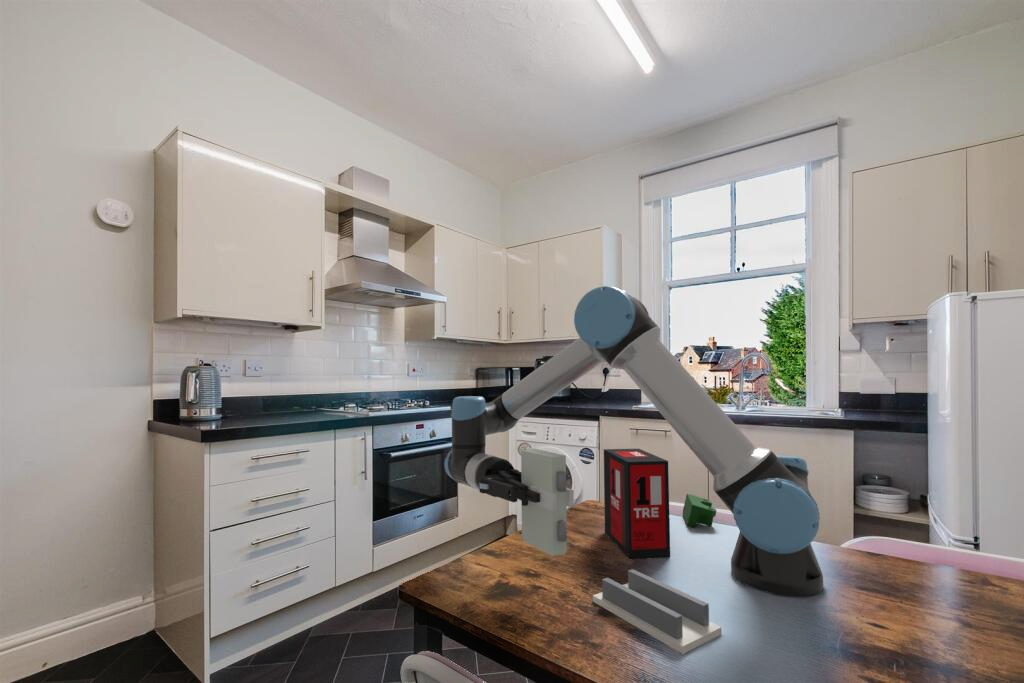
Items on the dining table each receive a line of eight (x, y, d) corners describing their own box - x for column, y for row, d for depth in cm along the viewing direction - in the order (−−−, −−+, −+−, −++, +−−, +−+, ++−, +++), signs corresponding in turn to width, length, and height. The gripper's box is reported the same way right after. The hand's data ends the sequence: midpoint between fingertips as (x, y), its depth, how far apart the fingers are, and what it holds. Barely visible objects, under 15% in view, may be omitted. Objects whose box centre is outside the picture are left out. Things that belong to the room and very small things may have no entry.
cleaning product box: (670, 557, 99) (668, 461, 101) (629, 559, 98) (627, 462, 100) (640, 531, 116) (638, 448, 117) (604, 532, 115) (603, 449, 116)
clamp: (707, 545, 119) (718, 516, 115) (683, 537, 120) (692, 509, 117) (705, 513, 129) (714, 487, 126) (682, 507, 131) (691, 480, 127)
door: (521, 540, 85) (521, 450, 86) (535, 537, 87) (534, 448, 88) (558, 559, 76) (557, 458, 77) (572, 555, 78) (571, 456, 79)
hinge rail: (592, 601, 80) (592, 577, 81) (630, 588, 85) (629, 565, 86) (682, 654, 65) (682, 624, 66) (721, 634, 70) (720, 606, 71)
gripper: (523, 488, 102) (599, 515, 82) (455, 499, 93) (523, 532, 73) (522, 452, 102) (598, 471, 83) (455, 460, 94) (522, 483, 74)
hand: (563, 500), depth 78 cm, fingers closed on door, 3 cm apart
